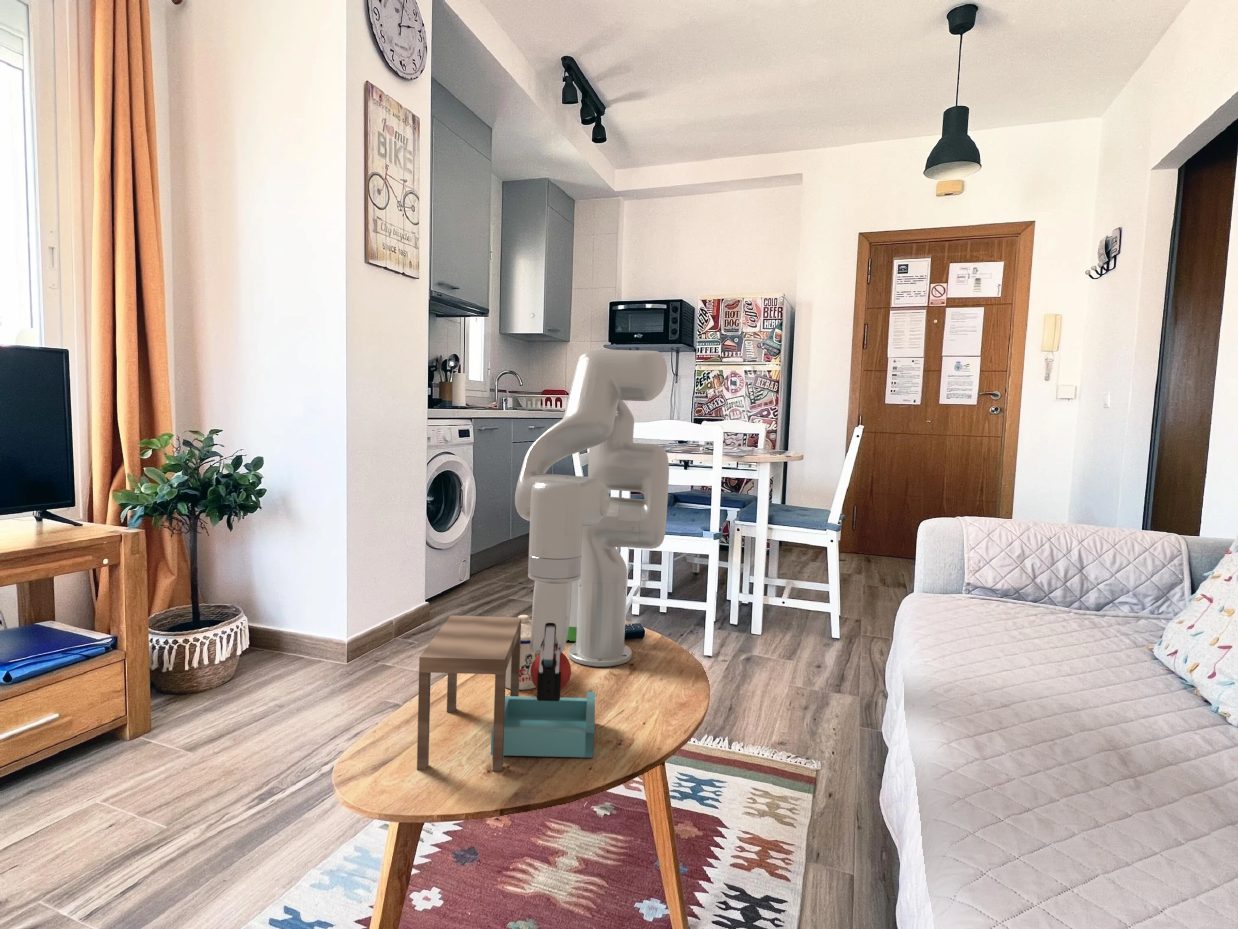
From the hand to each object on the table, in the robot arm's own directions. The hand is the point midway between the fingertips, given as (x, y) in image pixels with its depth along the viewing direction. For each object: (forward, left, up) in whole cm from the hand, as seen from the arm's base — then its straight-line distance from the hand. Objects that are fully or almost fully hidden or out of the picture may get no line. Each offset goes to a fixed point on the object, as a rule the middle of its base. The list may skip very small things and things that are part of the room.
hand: (550, 689), depth 94 cm
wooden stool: (0, -11, -7) cm, 13 cm away
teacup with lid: (-22, -5, -8) cm, 24 cm away
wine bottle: (-45, +3, -8) cm, 46 cm away
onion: (0, 0, -1) cm, 1 cm away
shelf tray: (0, 0, -7) cm, 7 cm away
